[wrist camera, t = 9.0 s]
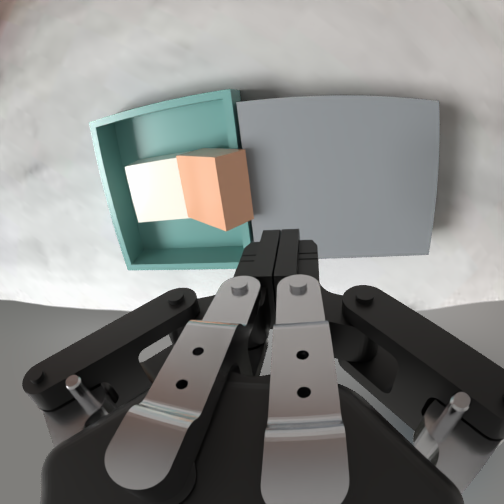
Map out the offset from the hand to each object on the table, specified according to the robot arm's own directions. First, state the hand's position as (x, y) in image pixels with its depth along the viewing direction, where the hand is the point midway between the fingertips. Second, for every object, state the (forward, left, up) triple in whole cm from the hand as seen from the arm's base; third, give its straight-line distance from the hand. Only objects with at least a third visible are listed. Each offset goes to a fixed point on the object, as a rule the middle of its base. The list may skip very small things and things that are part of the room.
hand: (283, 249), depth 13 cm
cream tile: (+10, -4, -10) cm, 14 cm away
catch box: (+9, -4, -13) cm, 16 cm away
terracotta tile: (+4, -2, -10) cm, 11 cm away
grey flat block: (-4, +1, -13) cm, 14 cm away
